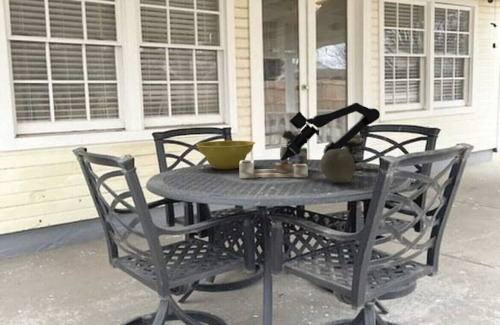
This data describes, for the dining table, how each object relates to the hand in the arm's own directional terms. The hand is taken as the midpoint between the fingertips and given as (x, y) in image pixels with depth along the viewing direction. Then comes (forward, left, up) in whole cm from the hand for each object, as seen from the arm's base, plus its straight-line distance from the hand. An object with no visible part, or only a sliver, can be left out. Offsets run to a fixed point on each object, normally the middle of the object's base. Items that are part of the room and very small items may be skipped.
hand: (281, 159), depth 244 cm
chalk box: (+14, -12, -8) cm, 20 cm away
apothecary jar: (+9, -39, -8) cm, 41 cm away
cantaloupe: (-31, -16, -8) cm, 36 cm away
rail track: (+1, +4, -8) cm, 9 cm away
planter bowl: (+39, +21, -8) cm, 45 cm away
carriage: (0, -1, -4) cm, 5 cm away
